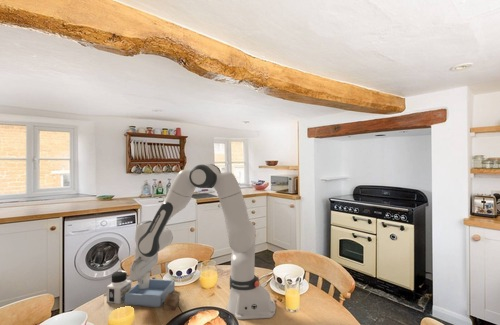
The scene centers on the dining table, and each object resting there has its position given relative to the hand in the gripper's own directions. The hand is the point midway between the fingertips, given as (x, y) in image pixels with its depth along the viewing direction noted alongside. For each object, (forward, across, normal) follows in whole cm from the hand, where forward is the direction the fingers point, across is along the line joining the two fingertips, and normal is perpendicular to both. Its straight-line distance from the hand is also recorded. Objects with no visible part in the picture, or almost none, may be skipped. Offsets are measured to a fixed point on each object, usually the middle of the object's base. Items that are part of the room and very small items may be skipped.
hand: (144, 281), depth 121 cm
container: (+8, -4, +11) cm, 14 cm away
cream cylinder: (+3, 0, 0) cm, 3 cm away
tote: (+8, 0, -4) cm, 8 cm away
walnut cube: (+8, -7, -18) cm, 20 cm away
